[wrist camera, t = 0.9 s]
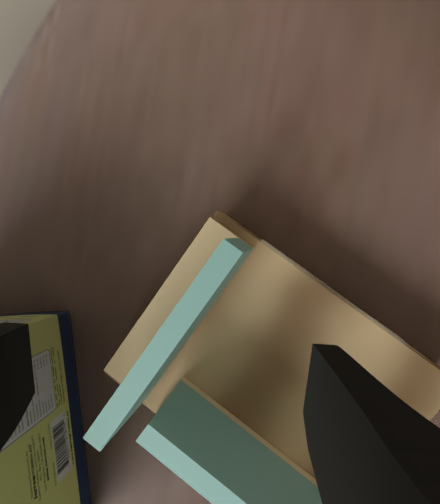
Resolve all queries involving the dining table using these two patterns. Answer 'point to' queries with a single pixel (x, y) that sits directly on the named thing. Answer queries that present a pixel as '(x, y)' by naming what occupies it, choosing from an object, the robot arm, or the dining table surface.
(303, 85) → the dining table surface
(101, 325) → the dining table surface
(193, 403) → the side flap
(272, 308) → the carton
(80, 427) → the protein box
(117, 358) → the end flap
